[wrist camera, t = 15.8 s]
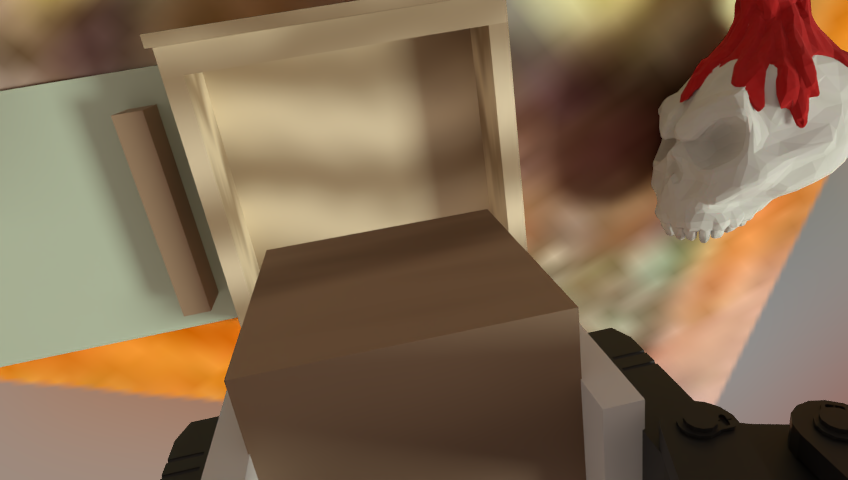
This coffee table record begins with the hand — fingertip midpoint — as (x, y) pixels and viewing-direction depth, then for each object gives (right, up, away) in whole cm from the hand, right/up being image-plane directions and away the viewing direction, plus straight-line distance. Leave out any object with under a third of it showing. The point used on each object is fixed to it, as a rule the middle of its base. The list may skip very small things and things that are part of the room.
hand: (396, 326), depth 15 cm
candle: (+20, +12, +21) cm, 31 cm away
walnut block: (0, 0, 0) cm, 0 cm away
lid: (-20, +4, +18) cm, 27 cm away
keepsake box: (-3, +7, +19) cm, 20 cm away
